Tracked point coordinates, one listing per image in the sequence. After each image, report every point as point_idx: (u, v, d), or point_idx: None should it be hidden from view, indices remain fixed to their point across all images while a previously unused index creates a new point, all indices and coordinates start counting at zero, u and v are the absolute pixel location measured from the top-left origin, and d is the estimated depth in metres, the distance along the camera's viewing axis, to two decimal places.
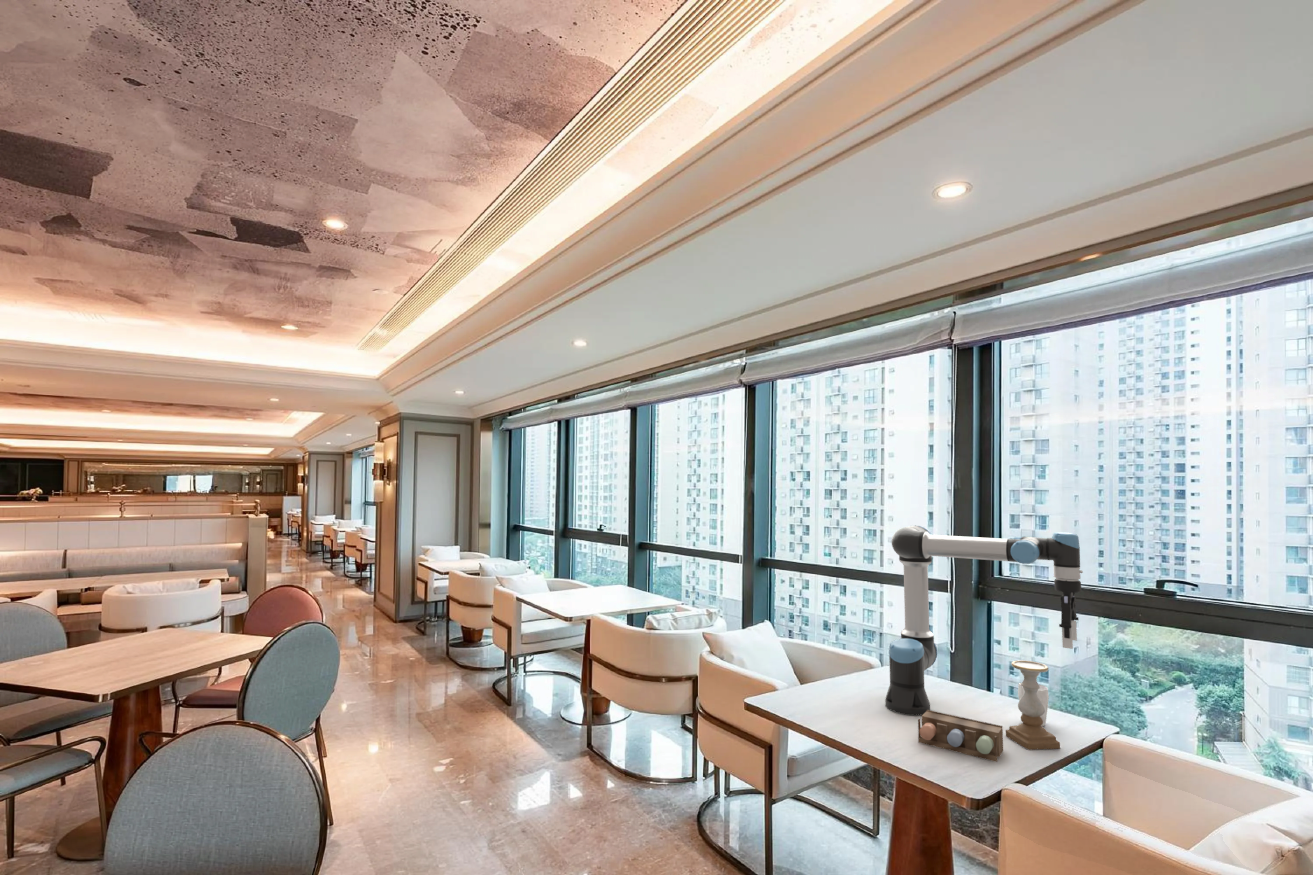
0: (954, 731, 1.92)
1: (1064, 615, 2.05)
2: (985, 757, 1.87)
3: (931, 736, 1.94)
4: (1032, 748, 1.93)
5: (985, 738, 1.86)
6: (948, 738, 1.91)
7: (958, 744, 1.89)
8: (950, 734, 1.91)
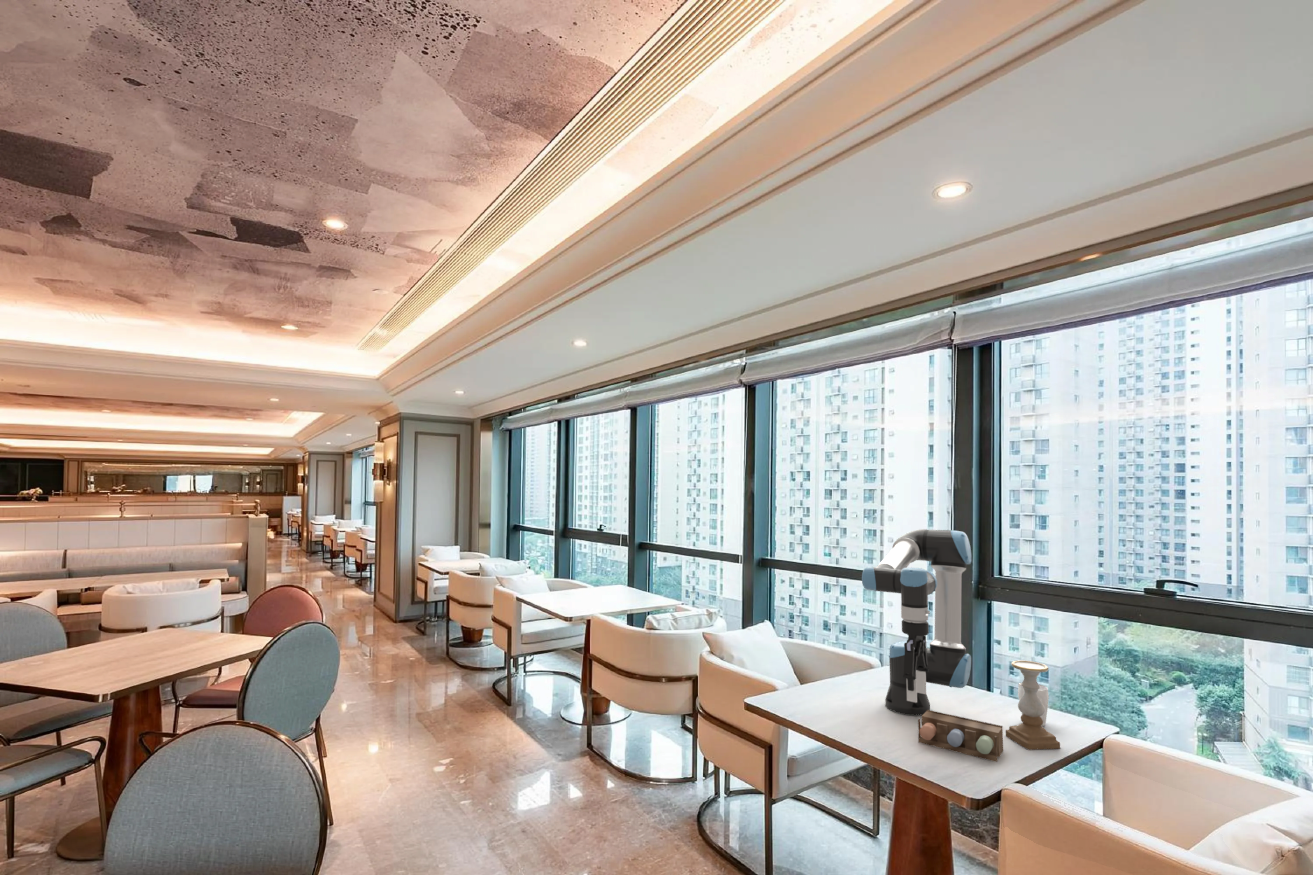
0: (954, 731, 1.92)
1: (907, 665, 1.84)
2: (985, 757, 1.87)
3: (931, 736, 1.94)
4: (1032, 748, 1.93)
5: (985, 738, 1.86)
6: (948, 738, 1.91)
7: (958, 744, 1.89)
8: (950, 734, 1.91)
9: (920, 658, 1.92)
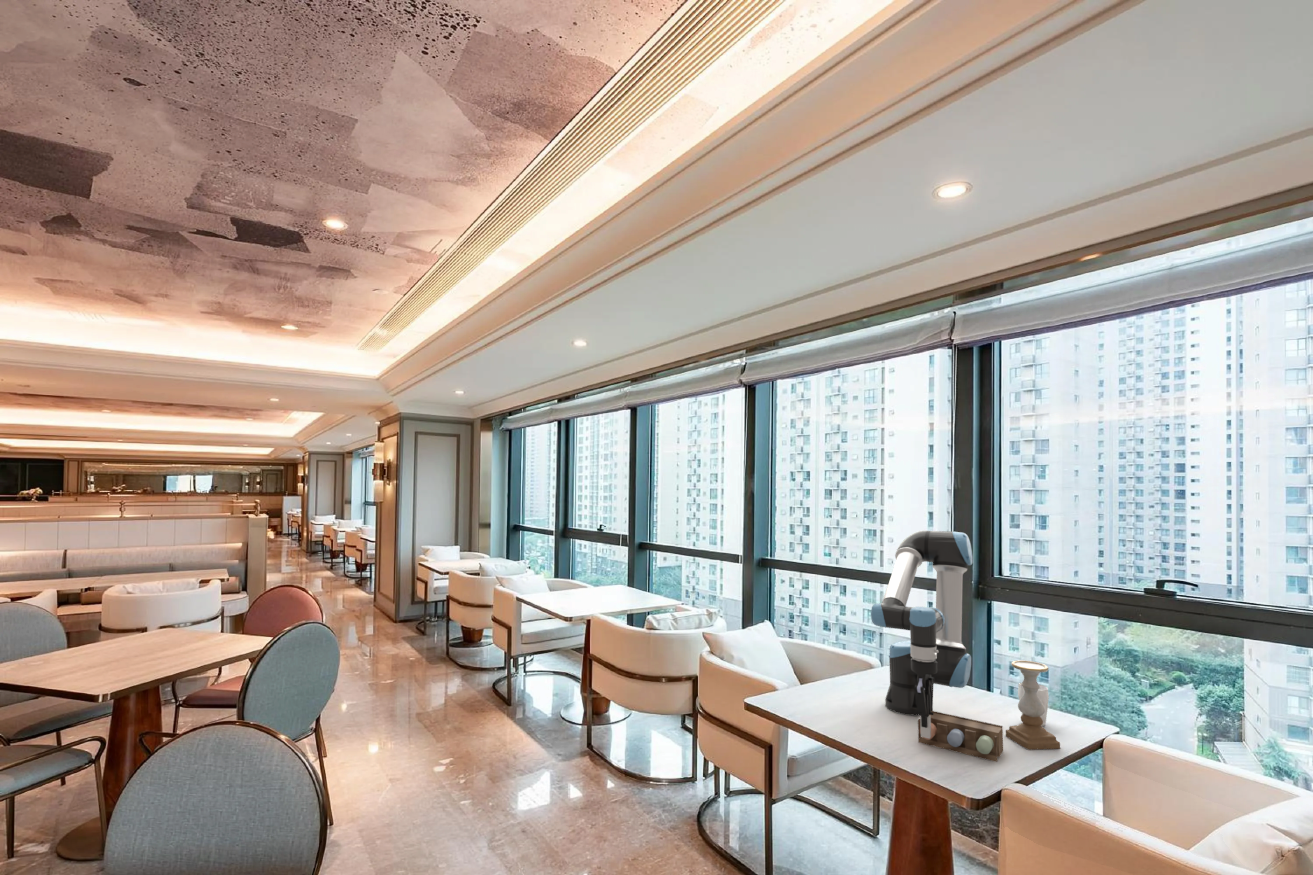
0: (954, 731, 1.92)
1: (919, 705, 1.92)
2: (985, 757, 1.87)
3: (931, 736, 1.94)
4: (1032, 748, 1.93)
5: (985, 738, 1.86)
6: (948, 738, 1.91)
7: (958, 744, 1.89)
8: (950, 734, 1.91)
9: None
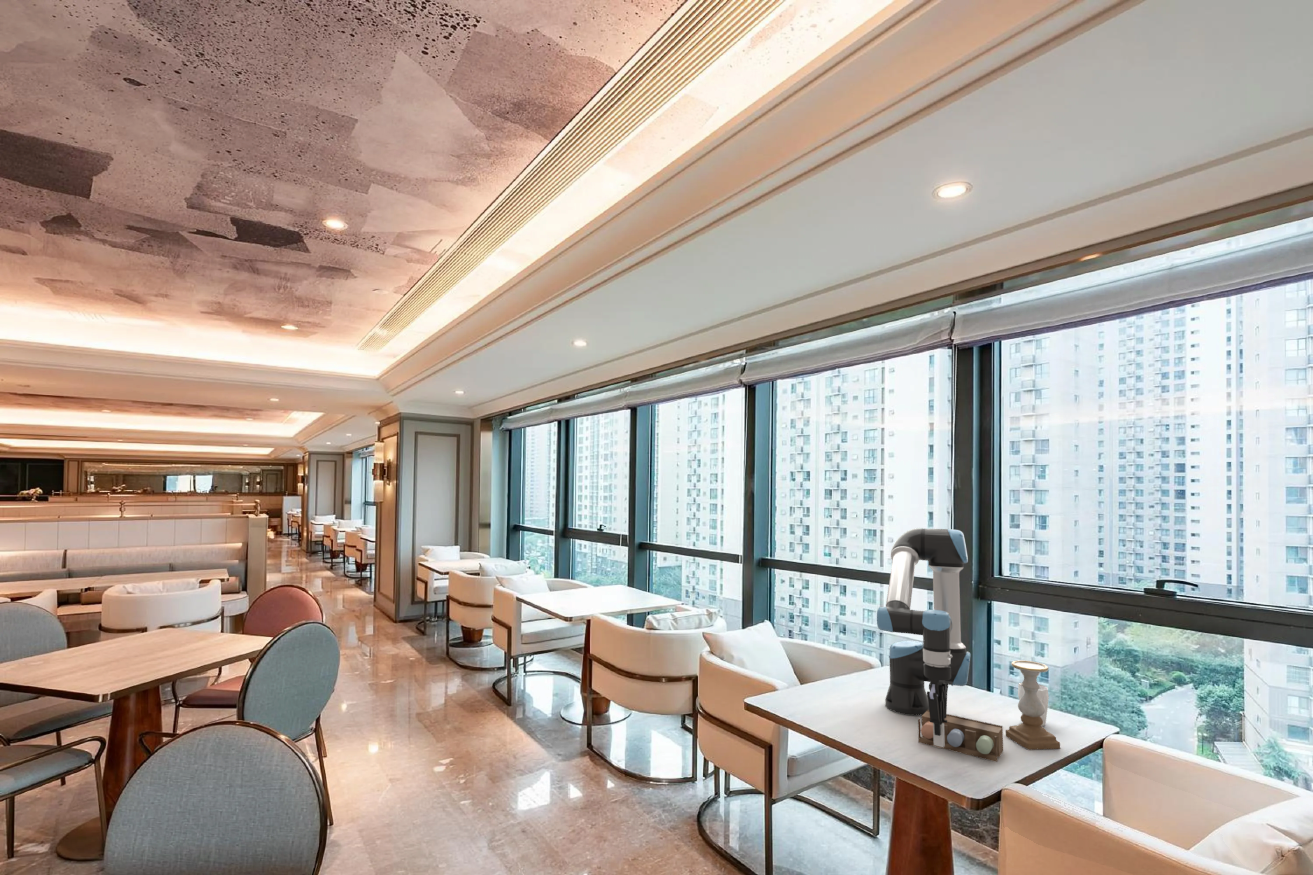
0: (954, 731, 1.92)
1: (932, 712, 1.85)
2: (985, 757, 1.87)
3: (932, 735, 1.95)
4: (1032, 748, 1.93)
5: (985, 738, 1.86)
6: (948, 738, 1.91)
7: (958, 744, 1.89)
8: (950, 734, 1.91)
9: None
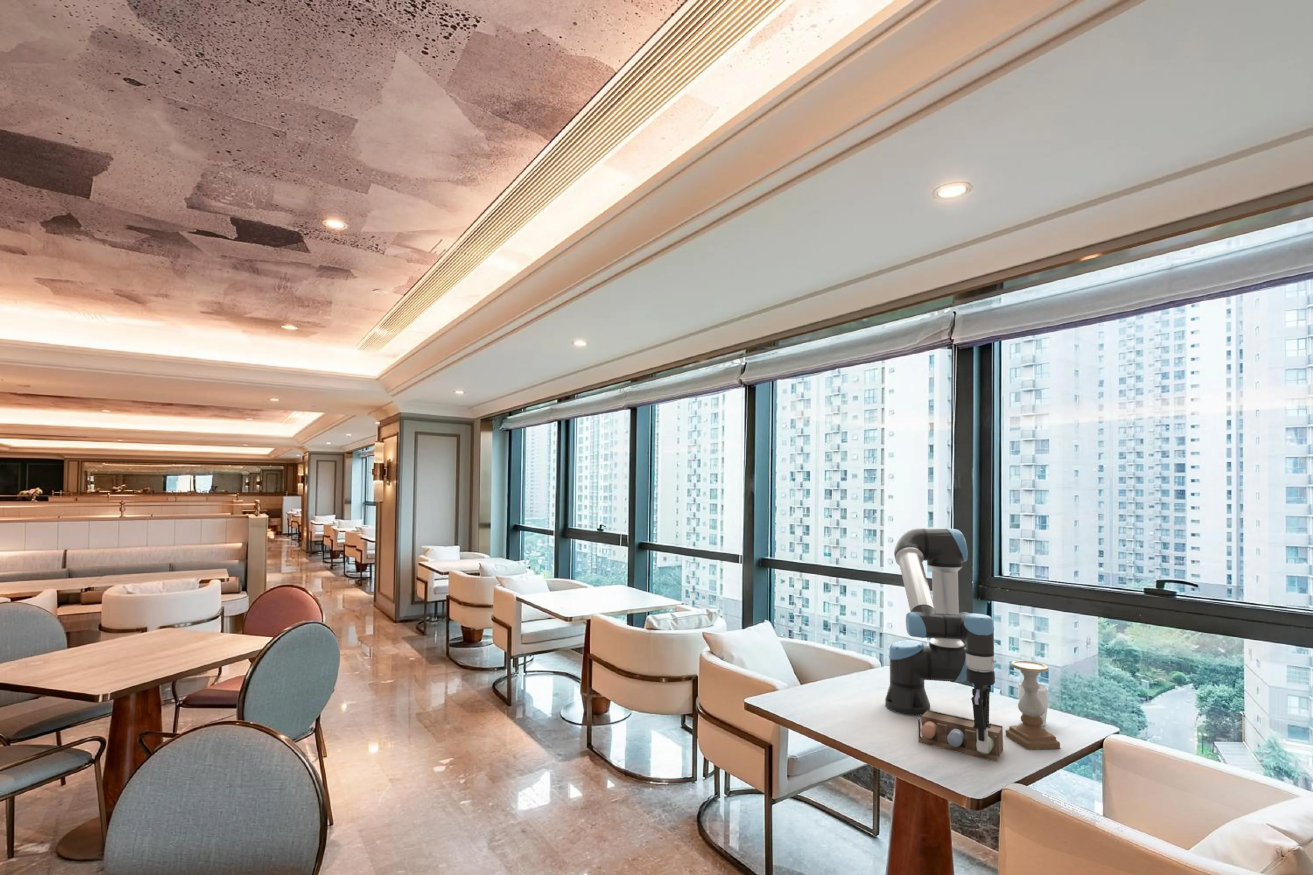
0: (954, 731, 1.92)
1: (977, 718, 1.82)
2: (985, 757, 1.87)
3: (932, 735, 1.95)
4: (1032, 748, 1.93)
5: None
6: (948, 738, 1.91)
7: (958, 744, 1.89)
8: (950, 734, 1.91)
9: None
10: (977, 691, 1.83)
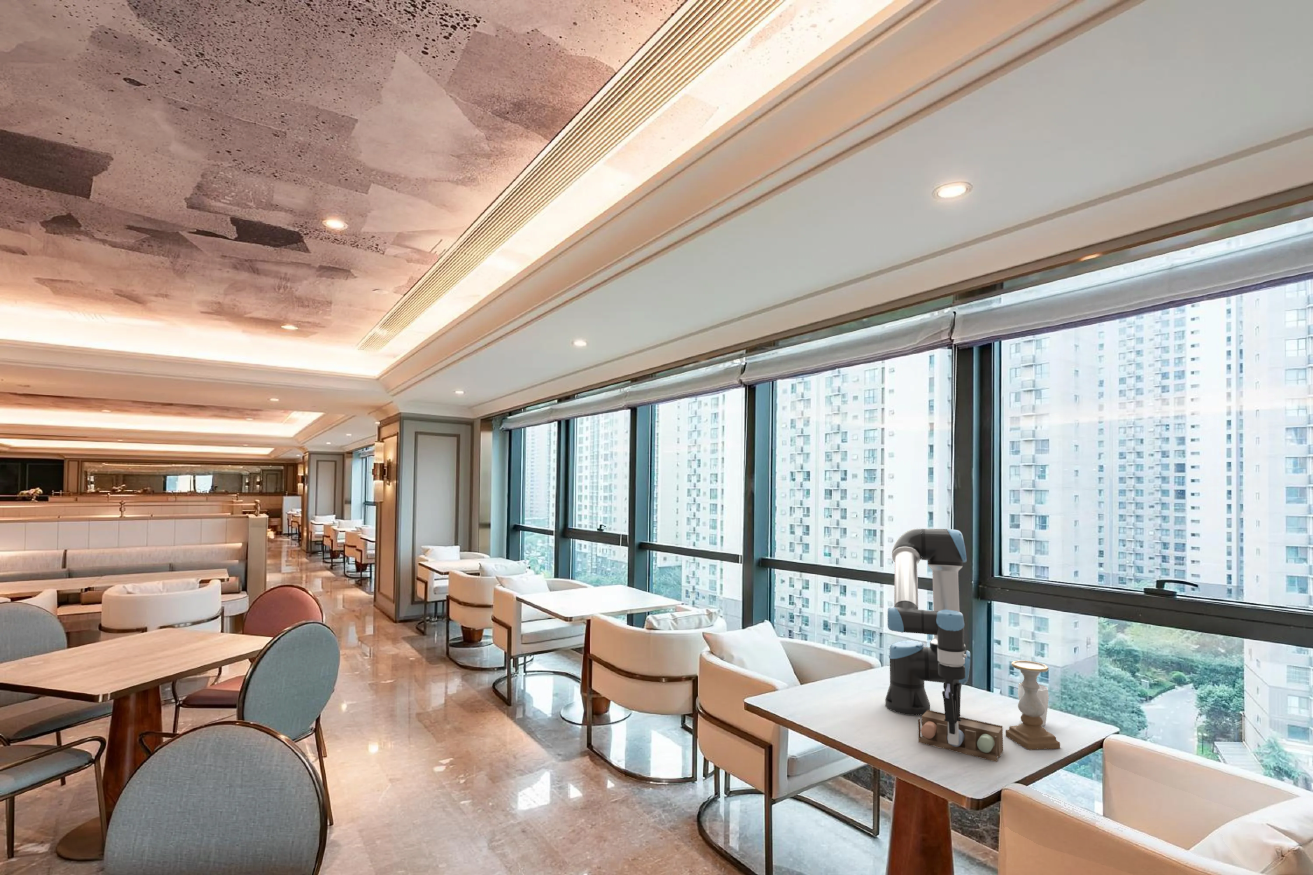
0: None
1: (947, 711, 1.87)
2: (985, 757, 1.87)
3: (932, 735, 1.95)
4: (1032, 748, 1.93)
5: (986, 737, 1.87)
6: None
7: None
8: None
9: None
10: (948, 685, 1.88)
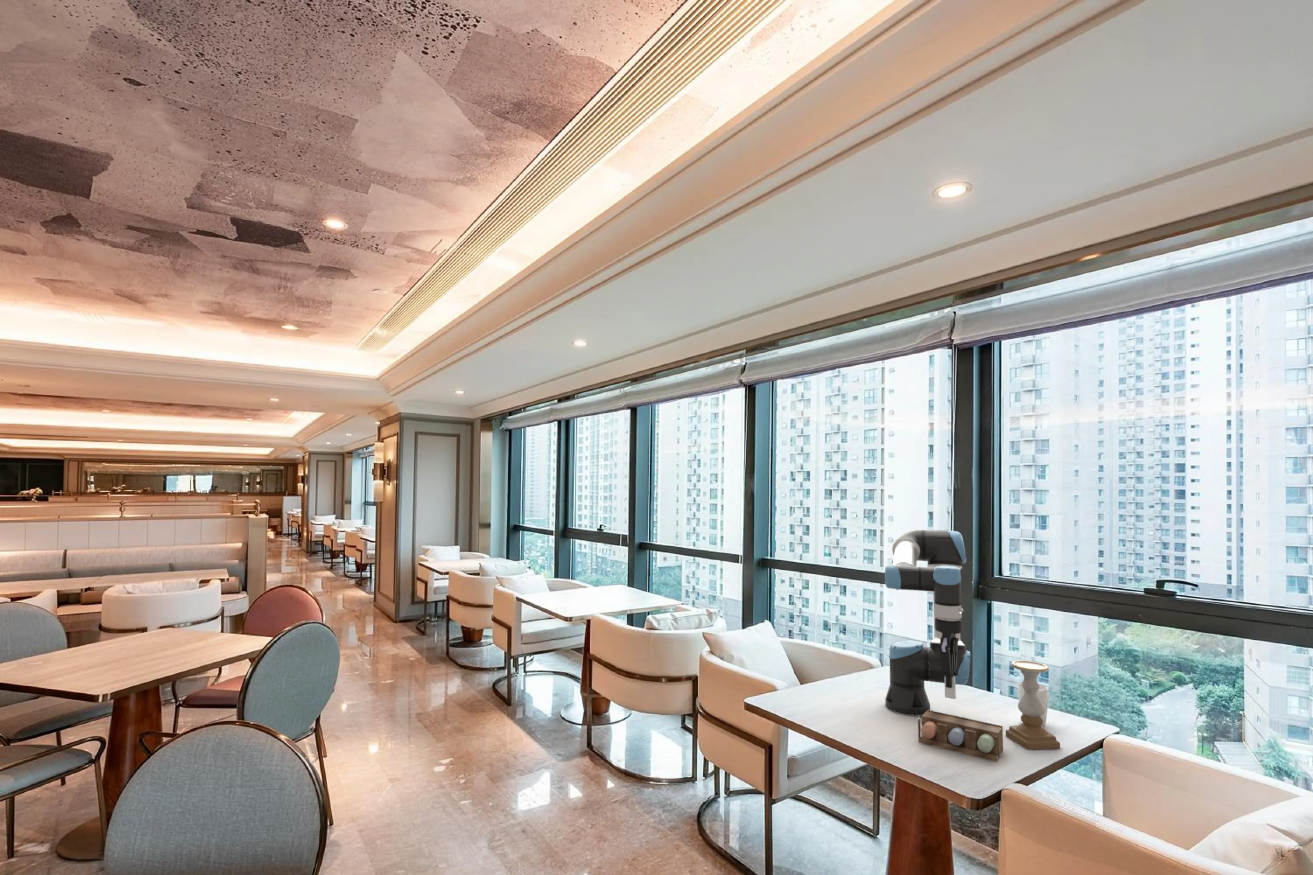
0: (955, 730, 1.93)
1: (944, 665, 1.87)
2: (985, 757, 1.87)
3: (932, 735, 1.95)
4: (1032, 748, 1.93)
5: (986, 737, 1.87)
6: (949, 737, 1.92)
7: (959, 743, 1.90)
8: (951, 733, 1.92)
9: None
10: (944, 639, 1.88)
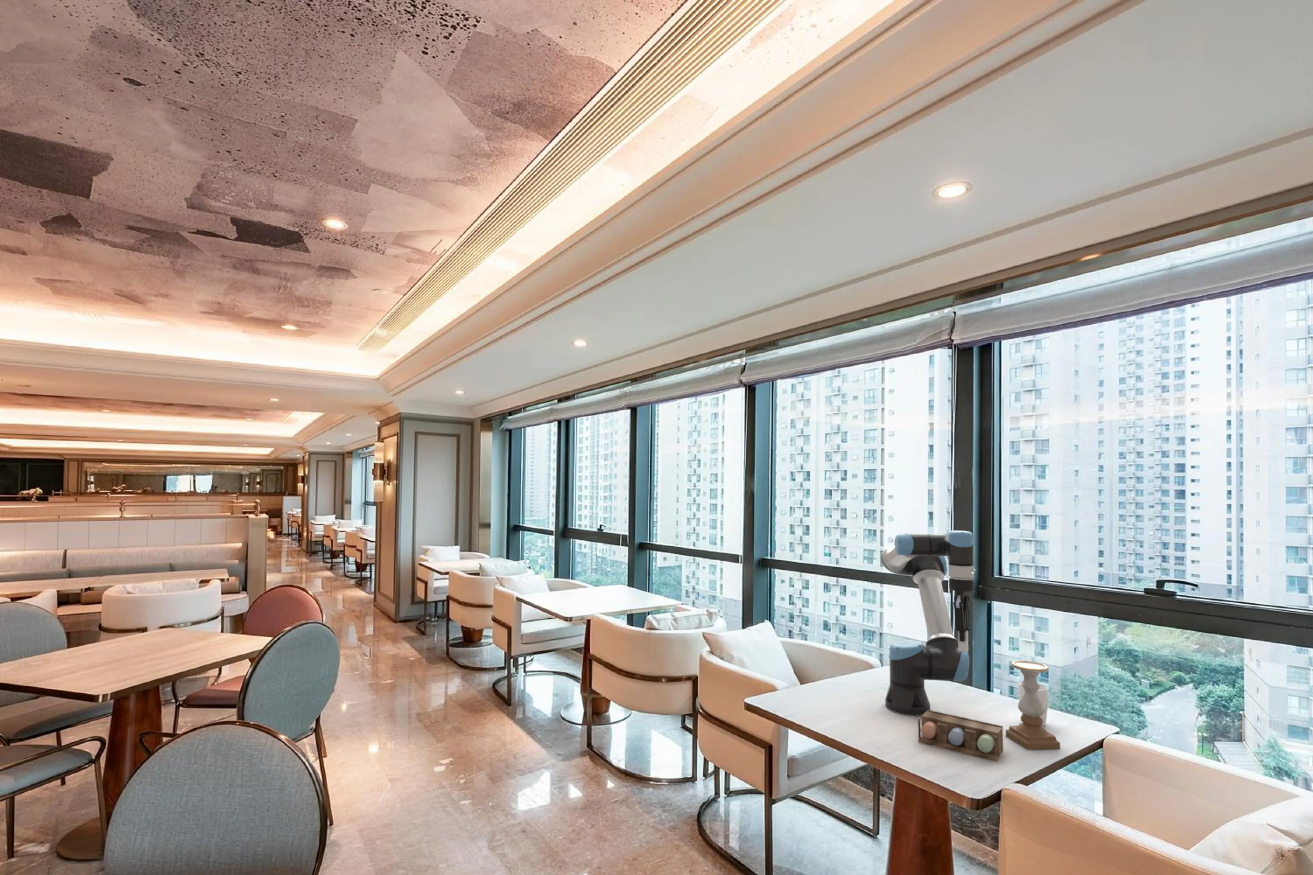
0: (955, 730, 1.93)
1: (958, 620, 2.05)
2: (985, 757, 1.87)
3: (932, 735, 1.95)
4: (1032, 748, 1.93)
5: (986, 737, 1.87)
6: (949, 737, 1.92)
7: (959, 743, 1.90)
8: (951, 733, 1.92)
9: None
10: (958, 597, 2.06)
